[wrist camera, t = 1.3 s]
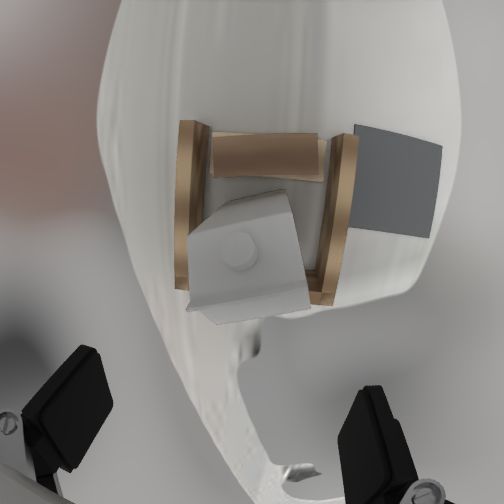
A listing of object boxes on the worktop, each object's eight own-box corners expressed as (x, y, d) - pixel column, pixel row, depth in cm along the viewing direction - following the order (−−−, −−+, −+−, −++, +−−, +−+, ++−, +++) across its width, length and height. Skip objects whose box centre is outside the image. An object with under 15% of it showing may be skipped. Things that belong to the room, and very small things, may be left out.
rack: (196, 126, 31) (179, 120, 25) (344, 139, 30) (359, 135, 24) (189, 268, 36) (174, 288, 31) (324, 283, 36) (332, 306, 30)
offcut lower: (217, 134, 32) (212, 132, 29) (322, 142, 31) (326, 140, 28) (215, 172, 33) (209, 173, 30) (319, 180, 32) (323, 182, 29)
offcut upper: (217, 139, 29) (212, 137, 26) (313, 135, 28) (317, 133, 25) (219, 176, 30) (214, 177, 27) (314, 173, 29) (318, 174, 27)
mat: (354, 124, 29) (355, 124, 29) (440, 146, 29) (442, 146, 28) (342, 225, 33) (343, 226, 33) (427, 237, 33) (428, 238, 32)
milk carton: (298, 247, 34) (317, 340, 16) (240, 259, 36) (204, 358, 18) (284, 188, 32) (295, 224, 14) (224, 202, 34) (165, 254, 16)
